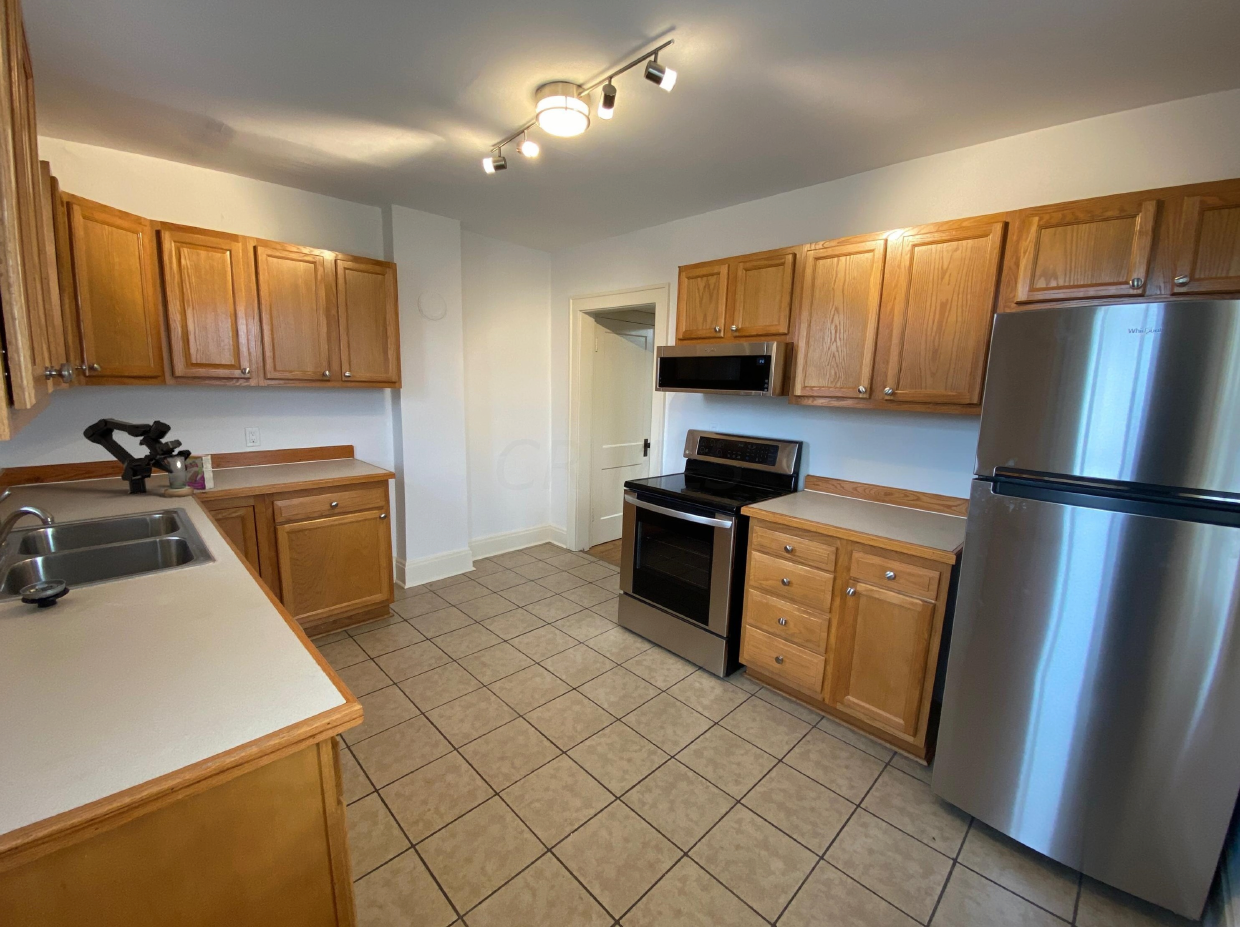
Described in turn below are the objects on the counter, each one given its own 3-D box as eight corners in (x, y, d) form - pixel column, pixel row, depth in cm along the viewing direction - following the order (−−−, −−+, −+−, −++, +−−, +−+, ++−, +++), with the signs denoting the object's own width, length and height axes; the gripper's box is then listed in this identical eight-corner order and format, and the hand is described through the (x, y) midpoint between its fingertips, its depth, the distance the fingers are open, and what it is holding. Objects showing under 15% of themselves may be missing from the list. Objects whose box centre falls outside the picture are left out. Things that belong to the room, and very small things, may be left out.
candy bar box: (184, 488, 242) (180, 455, 239) (194, 486, 246) (190, 453, 244) (205, 489, 241) (201, 456, 238) (214, 487, 245) (211, 454, 243)
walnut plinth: (166, 494, 230) (165, 487, 229) (195, 492, 236) (194, 485, 235) (163, 498, 222) (162, 491, 221) (192, 496, 228) (191, 489, 227)
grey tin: (166, 486, 227) (163, 457, 224) (182, 484, 232) (179, 456, 230) (174, 487, 224) (171, 458, 222) (190, 485, 230) (186, 457, 228)
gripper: (142, 436, 216) (166, 463, 216) (186, 432, 234) (208, 457, 234) (129, 453, 219) (153, 480, 218) (173, 448, 237) (196, 472, 237)
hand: (179, 471), depth 227 cm, fingers closed on grey tin, 6 cm apart
